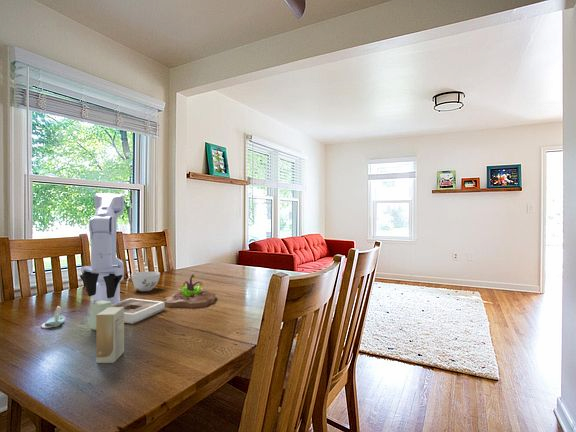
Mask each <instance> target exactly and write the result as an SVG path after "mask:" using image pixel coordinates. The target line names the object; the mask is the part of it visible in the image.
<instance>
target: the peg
mask: <svg viewBox="0 0 576 432" xmlns="http://www.w3.org/2000/svg"><path fill="white" fill-rule="evenodd" d="M90 305H91V306H90V330H93V331H96V315H97V314H98V313H100V312H101V311H103V310H104V309H106V308H107V307H111V302H110V301H102V300H101V301H98V302H95V303H92V302H91V303H90Z"/></svg>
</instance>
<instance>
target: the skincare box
mask: <svg viewBox="0 0 576 432" xmlns="http://www.w3.org/2000/svg"><path fill="white" fill-rule="evenodd" d="M95 331H96V334H95V335H96V338H95V339H96V342H95V343H96V347H95V348H96V359H95V360H96V361H95V362H96V364H109V363H110V364H113V363H115V362H117V360H118V359H119V358H120V357H121V356H122V355H123V354H124V353H125V323H124V307H107V308H106V309H104V310H103V311H101V312H100V313H98V314H97V315H96V330H95Z"/></svg>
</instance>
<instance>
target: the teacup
mask: <svg viewBox="0 0 576 432" xmlns="http://www.w3.org/2000/svg"><path fill="white" fill-rule="evenodd" d="M130 276H131V280H132V284H133V285H134V287H135V288H136V289H137V290H138V291H139V292H149V291H152V290H153V289H154V288H155V287H156V286H157V284H158V283H159V280H160V277H161V272H158V271H139V272H132V273H131V275H130Z"/></svg>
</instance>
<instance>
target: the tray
mask: <svg viewBox="0 0 576 432" xmlns="http://www.w3.org/2000/svg"><path fill="white" fill-rule="evenodd" d="M128 301H138V302H147V303H156V304H155V305H153V306H150V307H148V308H145V309H143V310H140V311H138V312H135V313H125V312H124V324H125V323H127V324H135V323H138V322H140V321H143V320H145V319H147V318H149V317H151V316H154V315H156V314H159V313H160V312H163V311H165V302H164V301H160V300H151V299H142V298H141V299H140V298H131V297H130V298H126V299H123V300H120V302H117V303H114V304H111V307H113V306H116V305H119V304H122V303H125V302H128ZM129 310H134V309H129Z"/></svg>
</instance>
